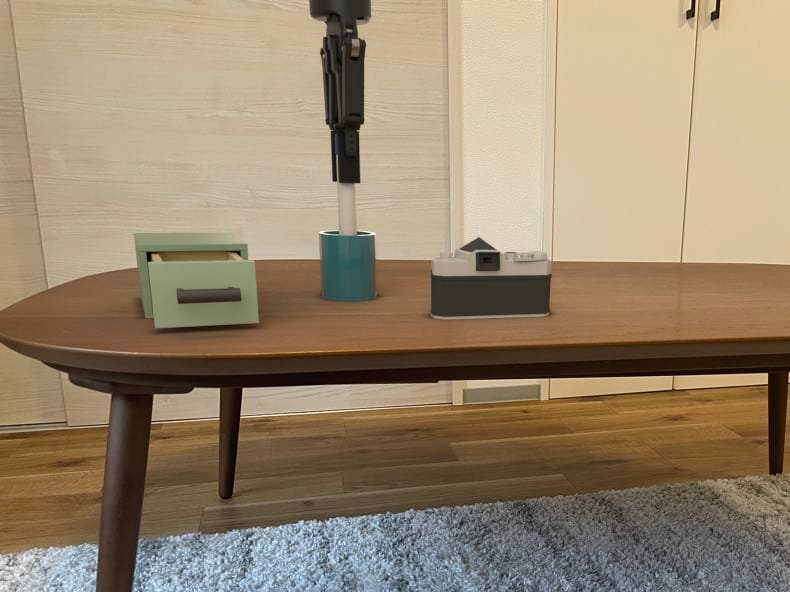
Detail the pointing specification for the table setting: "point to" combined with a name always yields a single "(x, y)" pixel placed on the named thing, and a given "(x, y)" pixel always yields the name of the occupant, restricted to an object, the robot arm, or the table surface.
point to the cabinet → (178, 243)
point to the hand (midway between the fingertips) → (346, 182)
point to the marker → (346, 204)
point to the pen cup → (348, 266)
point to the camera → (489, 283)
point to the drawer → (202, 289)
